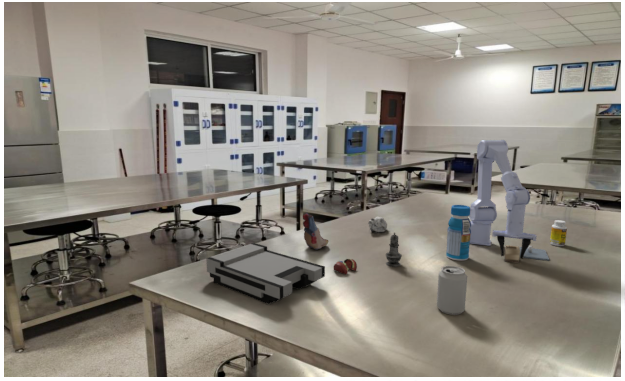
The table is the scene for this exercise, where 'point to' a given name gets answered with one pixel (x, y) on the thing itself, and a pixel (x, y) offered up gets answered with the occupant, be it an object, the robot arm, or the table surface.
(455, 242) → the beverage bottle
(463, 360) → the table surface
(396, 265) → the stone pagoda statue
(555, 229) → the supplement bottle
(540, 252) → the pin plate
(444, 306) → the can
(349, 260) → the pair of red halves
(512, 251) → the sleeve
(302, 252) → the table surface
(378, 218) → the grey lumpy stone
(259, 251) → the game console
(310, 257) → the table surface
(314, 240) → the rooster figurine
